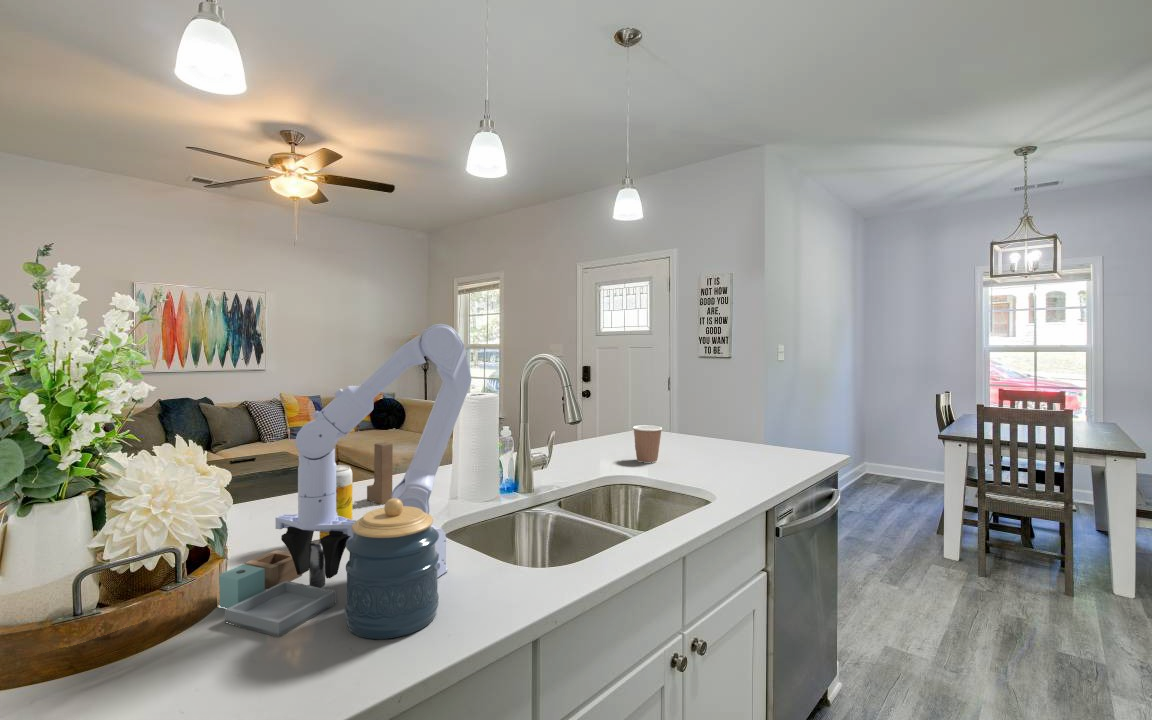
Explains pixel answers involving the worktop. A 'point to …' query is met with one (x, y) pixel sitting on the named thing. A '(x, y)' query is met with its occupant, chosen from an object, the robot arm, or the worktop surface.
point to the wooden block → (381, 474)
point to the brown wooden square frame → (276, 567)
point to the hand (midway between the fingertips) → (317, 574)
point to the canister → (392, 572)
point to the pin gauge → (316, 565)
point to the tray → (280, 608)
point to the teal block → (240, 584)
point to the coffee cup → (647, 442)
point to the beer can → (343, 493)
